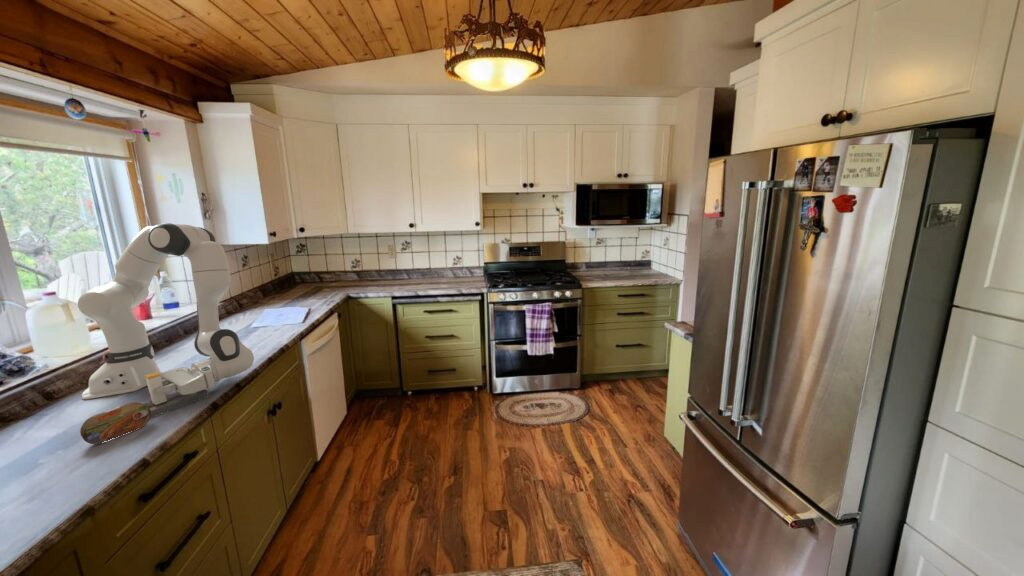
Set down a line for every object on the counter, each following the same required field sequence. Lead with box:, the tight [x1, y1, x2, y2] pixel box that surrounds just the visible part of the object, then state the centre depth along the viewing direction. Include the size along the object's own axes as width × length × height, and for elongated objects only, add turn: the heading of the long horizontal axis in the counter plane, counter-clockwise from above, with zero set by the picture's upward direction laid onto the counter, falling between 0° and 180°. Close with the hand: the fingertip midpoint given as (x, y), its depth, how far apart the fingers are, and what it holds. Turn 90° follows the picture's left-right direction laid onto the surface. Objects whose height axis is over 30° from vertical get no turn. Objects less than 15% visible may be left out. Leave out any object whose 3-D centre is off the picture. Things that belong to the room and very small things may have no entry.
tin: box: [79, 401, 151, 445], centre depth 119 cm, size 15×3×8 cm, turn 148°
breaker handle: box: [145, 372, 167, 405], centre depth 133 cm, size 3×3×10 cm
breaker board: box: [144, 389, 209, 419], centre depth 136 cm, size 18×9×2 cm, turn 146°
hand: (152, 390), depth 132 cm, fingers closed on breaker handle, 3 cm apart
